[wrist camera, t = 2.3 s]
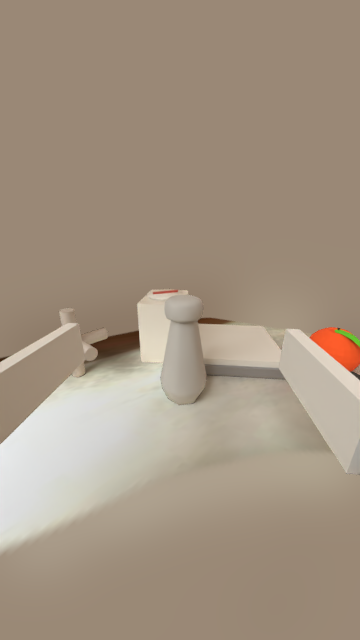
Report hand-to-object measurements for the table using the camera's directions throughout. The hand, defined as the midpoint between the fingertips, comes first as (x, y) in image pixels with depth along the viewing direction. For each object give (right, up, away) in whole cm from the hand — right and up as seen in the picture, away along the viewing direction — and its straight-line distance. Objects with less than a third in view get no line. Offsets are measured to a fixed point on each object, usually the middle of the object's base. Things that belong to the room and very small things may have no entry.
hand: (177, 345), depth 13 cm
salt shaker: (+1, -8, +14) cm, 16 cm away
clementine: (+23, -7, +18) cm, 30 cm away
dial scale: (+6, -4, +25) cm, 26 cm away
